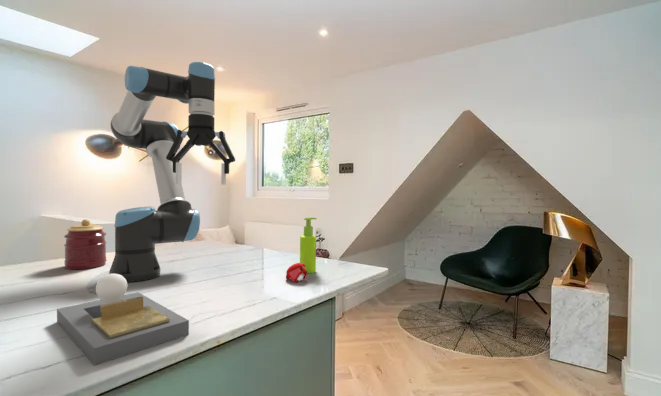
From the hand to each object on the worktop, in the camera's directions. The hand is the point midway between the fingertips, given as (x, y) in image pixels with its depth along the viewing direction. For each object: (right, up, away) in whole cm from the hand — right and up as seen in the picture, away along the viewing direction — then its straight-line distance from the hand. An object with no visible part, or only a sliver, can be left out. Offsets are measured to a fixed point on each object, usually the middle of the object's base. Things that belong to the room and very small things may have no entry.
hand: (201, 184), depth 106 cm
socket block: (-6, -33, -31) cm, 46 cm away
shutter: (-1, -30, -35) cm, 46 cm away
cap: (+29, -32, +9) cm, 44 cm away
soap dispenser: (+32, -32, +22) cm, 50 cm away
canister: (-53, -30, +23) cm, 65 cm away
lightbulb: (-10, -33, -28) cm, 44 cm away
